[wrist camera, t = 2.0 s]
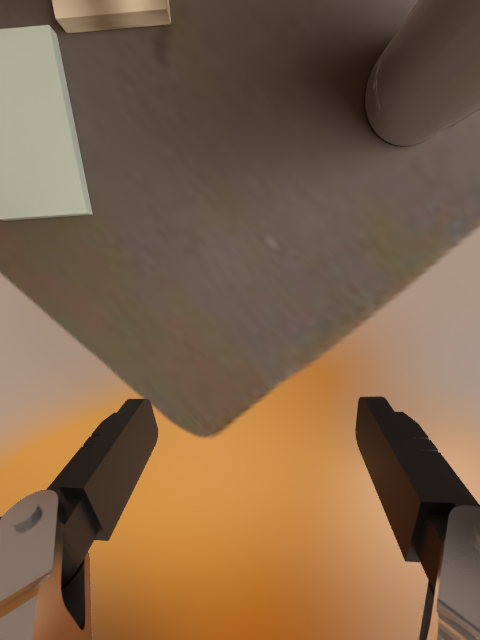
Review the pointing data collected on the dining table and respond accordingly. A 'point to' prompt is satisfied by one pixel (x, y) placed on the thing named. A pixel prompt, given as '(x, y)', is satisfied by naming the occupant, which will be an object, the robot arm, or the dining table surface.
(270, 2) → the dining table surface
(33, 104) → the mat
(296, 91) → the dining table surface
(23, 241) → the dining table surface
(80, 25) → the stand
